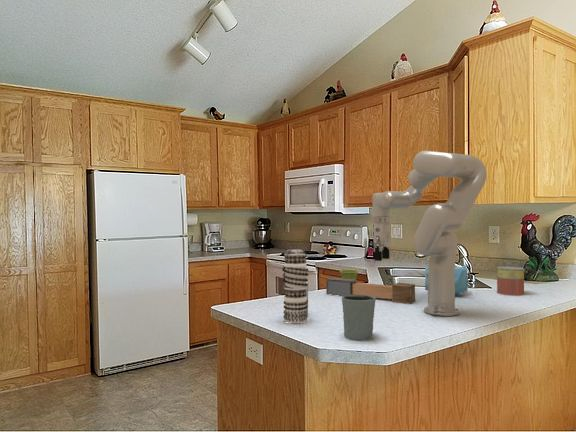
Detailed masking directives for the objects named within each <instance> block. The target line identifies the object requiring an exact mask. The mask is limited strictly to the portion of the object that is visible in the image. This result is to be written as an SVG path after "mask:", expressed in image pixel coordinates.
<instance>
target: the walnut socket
mask: <svg viewBox="0 0 576 432" xmlns="http://www.w3.org/2000/svg"><path fill="white" fill-rule="evenodd" d="M391 286H392V299H391V300H392V303H397V304H405V305H412V304H413V303H414V302H416V284H415V283H406V282H405V283H404V282H403V283H402V282H397V283H395V284H392V285H391Z"/></svg>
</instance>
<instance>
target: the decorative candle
mask: <svg viewBox="0 0 576 432" xmlns="http://www.w3.org/2000/svg"><path fill="white" fill-rule="evenodd" d="M283 255H284V262H283V266H282V267H283V268H282V270H281V271H282V272H283V273H282V277H283V278H282V282H283V284H282V286H283V289H284V297H283V298H284V301H283V309H284V310H283V316H282V317H283V322H284V321H285V322H288V323H304V324H306V323H308V318H309V316H308V315H309V310H308V311H307V310H306V308H308V309H309V305H308V306H307V305H306V304H307V303H308V304H309V300H308V301H307V296H306V289H307V285H308V286H309V283H308V281H309V279H308V278H307V277H308V276H309V273H308V271H309V268H307V253H305V250H303V249H299V248H298V249H297V248H296V249H295V248H294V249H292V248H291V249H287V250H286V251H285V253H284V254H283ZM306 282H307V283H308V284H307V283H306ZM307 313H308V315H307ZM285 322H284V323H285ZM305 322H306V323H305ZM288 323H287V324H288Z"/></svg>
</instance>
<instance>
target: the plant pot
mask: <svg viewBox="0 0 576 432" xmlns="http://www.w3.org/2000/svg"><path fill="white" fill-rule="evenodd" d="M339 273H340V276H341V277H340V278H347V279H357V276H358V273H359V270H357V269H342V270H341V269H340V270H339Z"/></svg>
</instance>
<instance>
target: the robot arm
mask: <svg viewBox="0 0 576 432" xmlns="http://www.w3.org/2000/svg"><path fill="white" fill-rule="evenodd" d="M412 161H413V162H412V167H413V168H414V169H411V171H409V173H408V175H407V179H408V182H409V184H410V186H409V187H408V188H406V189H405V190H404V191H403V190H402V191H400V190H389V191H387V190H386V191H383V192H376V193H373V194H372V225H374V226H373V253H374V255H373V256H374V257H373V258H374V259H373V260H374V261H375V262H376V261H378V262H381V261H382V260H383V259H384V260H389V259H390V246H391V245H392V233H391V227H390V225H391V210H397V209H398V210H402V209H403V210H405V209H408V208H410V207H412V206H413V205H415V204H416V203H417V202H418V201H420V199H421V198H422V196H423V195H424V192H425V189H426V188H427V187H428V186H429V185H431V183H433V182H434V181H435V180H436V179H438V178H439V177H443V178H448V179H449V178H452V179H460V181H459V182H458V184H456V186H455V187H454V188H453V189H452V191H451V193H450V195H449V197H448V198H447V201H445V202H444V203H441V202H440V203H439V202H438V203H435V204H432V205H430V206H429V207H428V208H427V209H426V210H425V212H424V214H423V216H422V219H421V220H420V223H419V225H418V228H417V229H416V232H415V234H414V237H413V248H414V249H415V252H417V253H418V254H419V255H423V256H429V259H428V263H427V264H428V265H427V267H428V291H427V292H428V293H427V297H428V298H427V301H428V303H427V305H428V306H425V307H424V308H423V312H424V313H426V314H429V315H433V316H437V317H438V316H440V317H453V316H458V315H460V310H459V309H458V308H456V296H455V267H456V255H457V250H458V244H459V243H458V242H459V241H458V238H457V235H456V234H455V233H454V231H452V230H457V229H460V228H462V227H463V226H464V224H465V222H466V221H467V218H468V216H469V214H470V213H471V211H472V209H473V207H474V205H475V202H476V200H477V198H478V196H479V195H480V193H481V191H482V190H483V188H484V186H485V183H486V180H487V169H486V166H485V164H484V162H483V161H482V160H481V159H480V158H478V157H476V156H475V155H474V156H473V155H471V154H465V153H464V154H463V153H454V152H453V153H452V152H444V151H443V152H442V151H435V150H422V151H419V152H418V153H416V155H415V156H414V158H413V160H412Z"/></svg>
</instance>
